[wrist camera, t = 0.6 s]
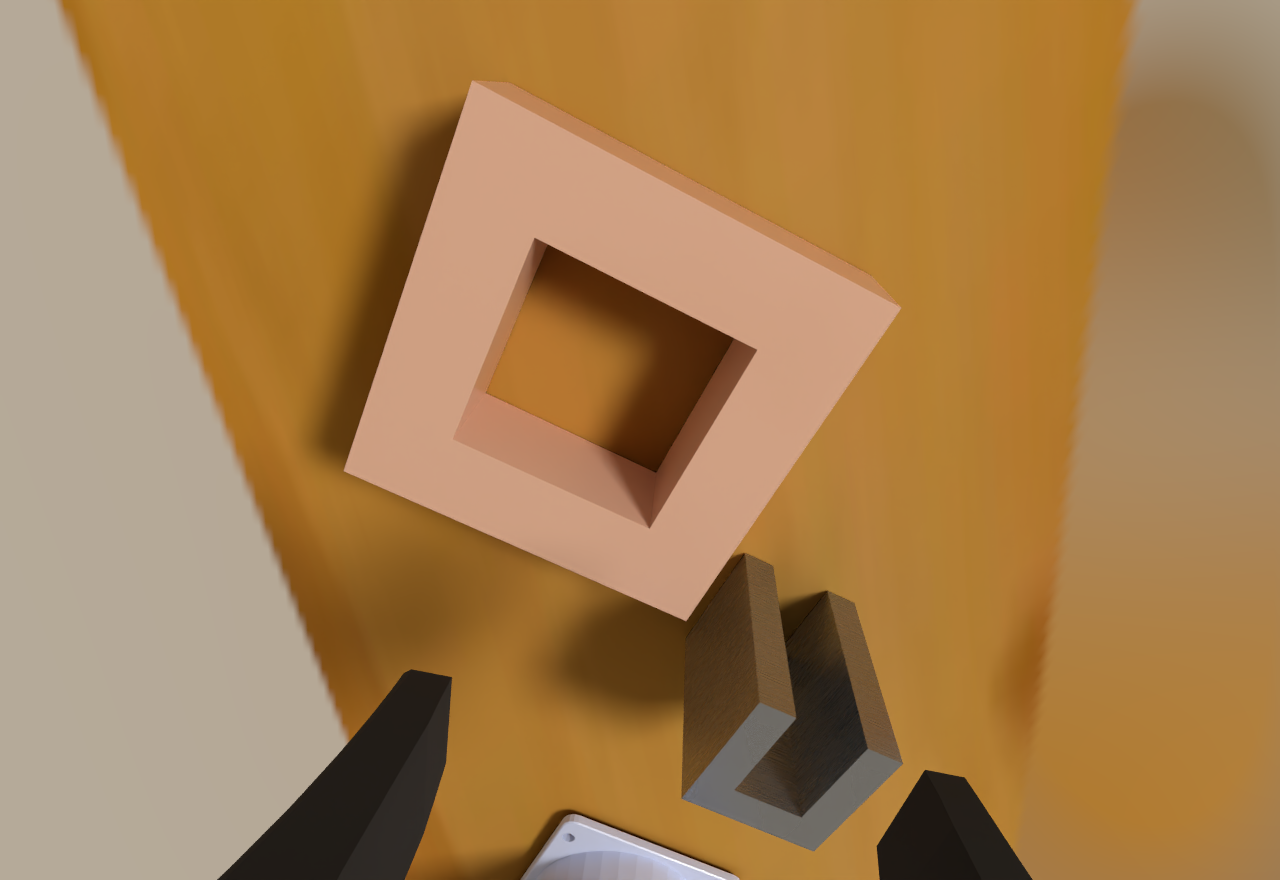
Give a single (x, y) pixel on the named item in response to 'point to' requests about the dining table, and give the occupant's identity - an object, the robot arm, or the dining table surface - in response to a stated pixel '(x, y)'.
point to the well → (649, 261)
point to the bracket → (782, 712)
